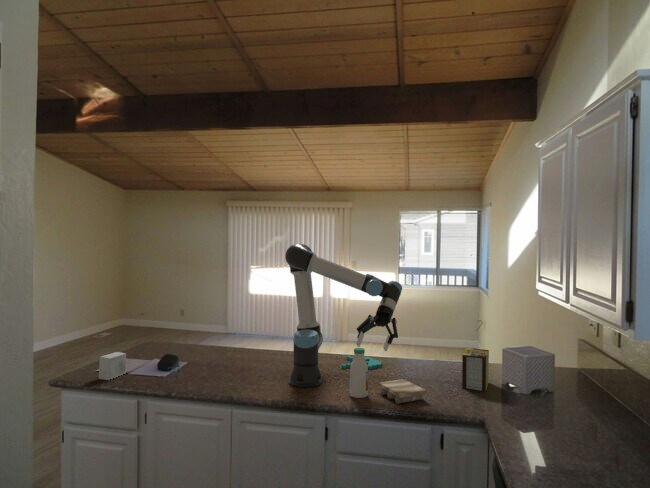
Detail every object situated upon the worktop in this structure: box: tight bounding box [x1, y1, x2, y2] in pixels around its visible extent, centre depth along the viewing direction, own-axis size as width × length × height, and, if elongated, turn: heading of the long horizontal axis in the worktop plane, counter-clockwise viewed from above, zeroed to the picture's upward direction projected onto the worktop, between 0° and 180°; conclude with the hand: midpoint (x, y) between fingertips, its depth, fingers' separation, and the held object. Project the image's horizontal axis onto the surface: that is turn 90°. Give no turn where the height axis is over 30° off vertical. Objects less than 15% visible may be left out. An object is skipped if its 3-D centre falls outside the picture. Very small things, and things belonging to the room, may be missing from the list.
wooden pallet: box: [378, 378, 427, 405], centre depth 182 cm, size 16×13×4 cm
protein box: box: [461, 347, 490, 393], centre depth 199 cm, size 10×15×16 cm
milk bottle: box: [349, 347, 369, 399], centre depth 183 cm, size 8×8×20 cm
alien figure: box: [340, 355, 383, 371], centre depth 231 cm, size 20×2×20 cm
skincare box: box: [98, 351, 127, 381], centre depth 204 cm, size 10×6×10 cm, turn 161°
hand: (371, 347), depth 191 cm, fingers open, 13 cm apart
